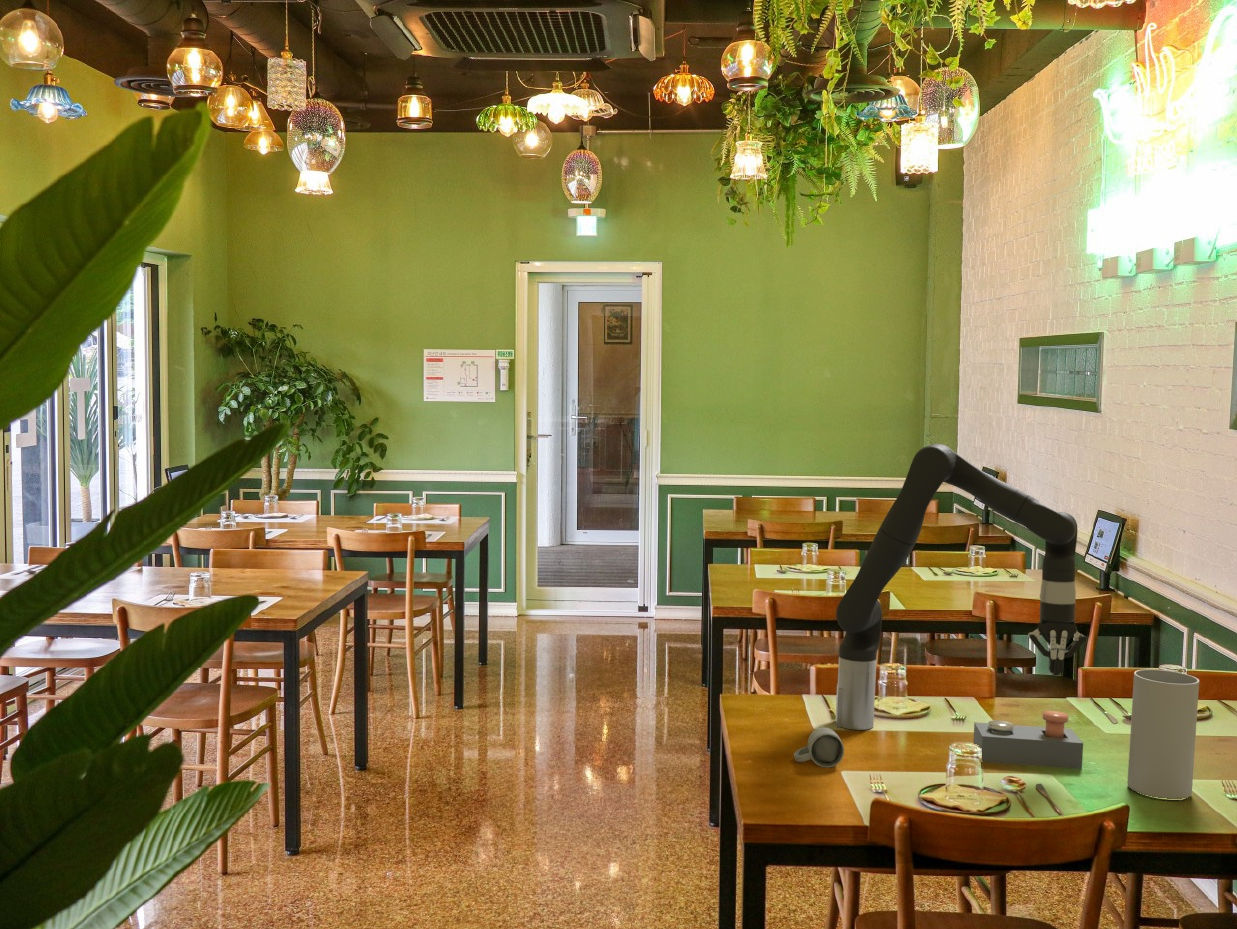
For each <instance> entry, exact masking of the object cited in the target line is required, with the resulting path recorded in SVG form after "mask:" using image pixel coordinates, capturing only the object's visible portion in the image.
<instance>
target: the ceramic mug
mask: <svg viewBox="0 0 1237 929" xmlns="http://www.w3.org/2000/svg"><path fill="white" fill-rule="evenodd" d="M793 756H794V760H795V761H796V762H797V763H805V762H807V761H810V760H812V762H813V763H814V764H816V765H817V766H818V767H821V768H824V769H825V768H826V769H827V768H828V769H829V768H833V767H836V766H837V765H838V764H840V763H841V761H842V760H843V758H844V756H845V747H844V743H843V741H842V740H841V738H840V736H839V734H837V732H835V731H834V730H833V729H831V728H830V727H825V726H824V727H823V726H822V727H819V728H815V729H814V730H813V731H811V733H810V734H809V737H808V739H807V745H805V746H804V747H801V748H799V749H797V750H796V751H794V753H793Z"/></svg>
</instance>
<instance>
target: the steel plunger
mask: <svg viewBox="0 0 1237 929" xmlns="http://www.w3.org/2000/svg"><path fill="white" fill-rule="evenodd" d="M987 723H988V728H989V729H990V730H991V733H998V734H1010V732H1013V728H1014V725H1015V724H1014V723H1012V722H1010V721H1006V720H1001V719H1000V720H998V719H996V720H995V719H994V720H993V719H992V720H989V721H988V722H987Z"/></svg>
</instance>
